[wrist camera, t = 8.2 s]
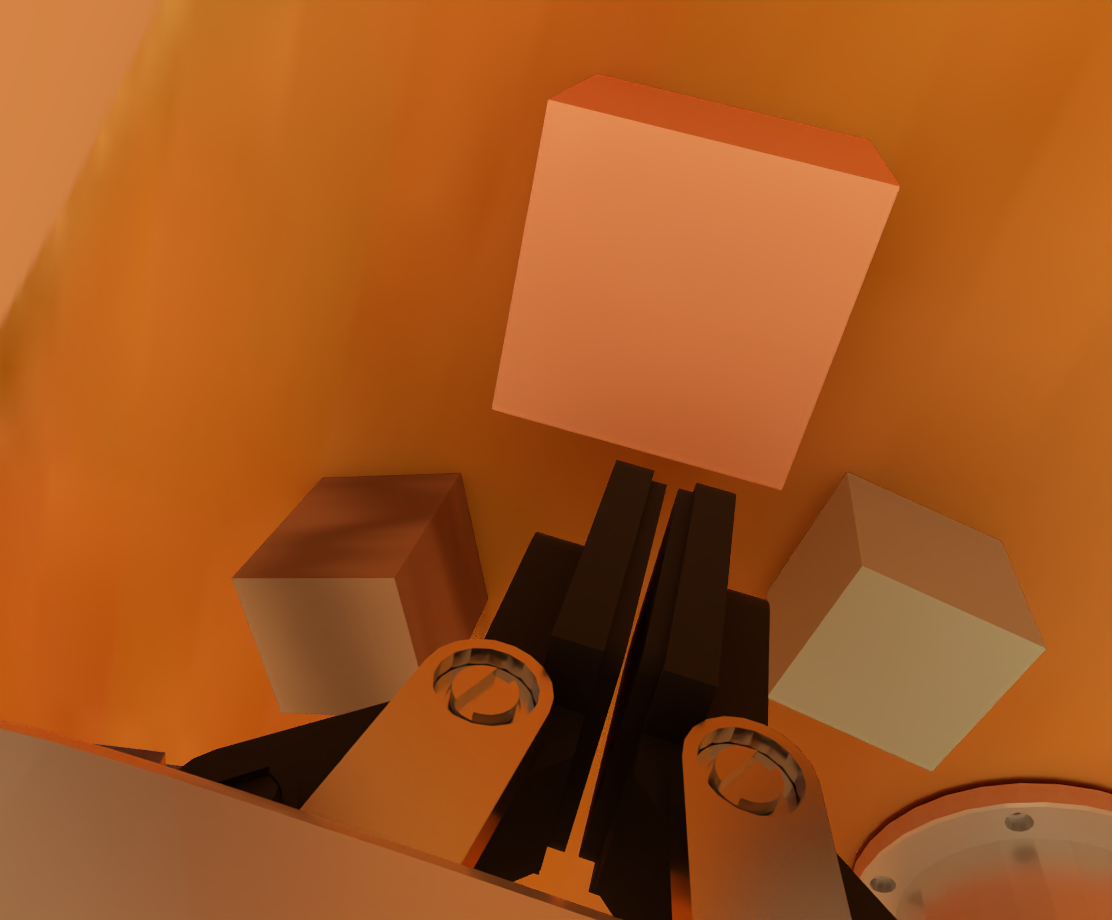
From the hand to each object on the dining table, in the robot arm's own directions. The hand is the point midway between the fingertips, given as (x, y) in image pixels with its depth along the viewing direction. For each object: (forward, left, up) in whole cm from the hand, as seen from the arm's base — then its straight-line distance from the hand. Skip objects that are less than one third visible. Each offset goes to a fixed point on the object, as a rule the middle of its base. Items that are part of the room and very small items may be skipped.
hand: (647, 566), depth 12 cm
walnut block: (+7, +12, -14) cm, 20 cm away
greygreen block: (-8, +8, -14) cm, 18 cm away
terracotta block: (+1, -1, -14) cm, 14 cm away
